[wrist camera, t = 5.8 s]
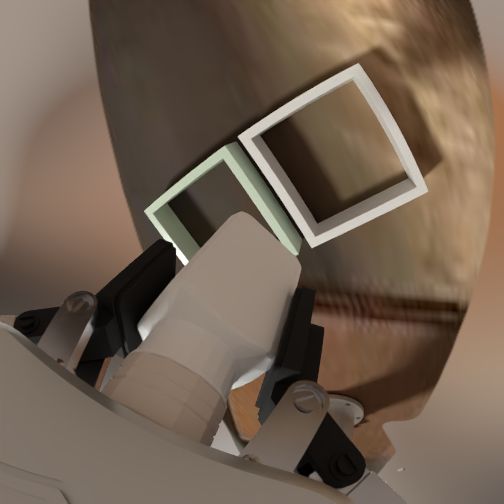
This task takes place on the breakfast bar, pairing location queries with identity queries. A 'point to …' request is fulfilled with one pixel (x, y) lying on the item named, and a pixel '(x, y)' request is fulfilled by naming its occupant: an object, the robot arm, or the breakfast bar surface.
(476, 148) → the breakfast bar surface
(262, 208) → the green bin
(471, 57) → the breakfast bar surface
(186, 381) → the pepper shaker
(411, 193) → the grey bin
